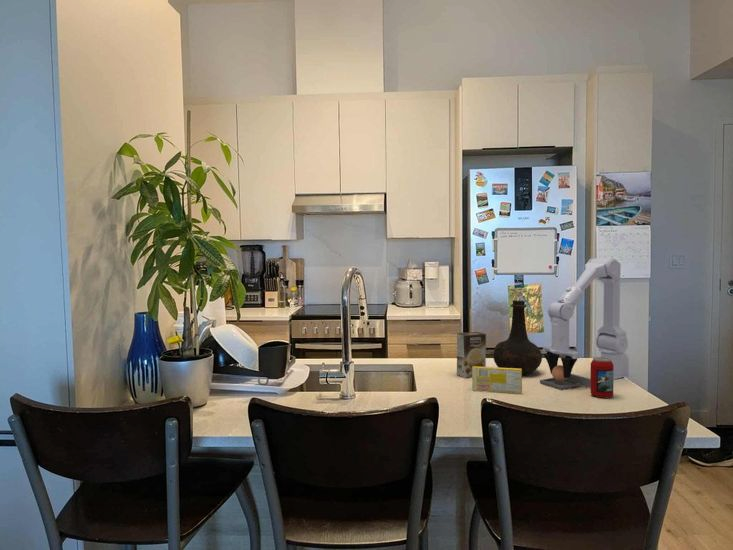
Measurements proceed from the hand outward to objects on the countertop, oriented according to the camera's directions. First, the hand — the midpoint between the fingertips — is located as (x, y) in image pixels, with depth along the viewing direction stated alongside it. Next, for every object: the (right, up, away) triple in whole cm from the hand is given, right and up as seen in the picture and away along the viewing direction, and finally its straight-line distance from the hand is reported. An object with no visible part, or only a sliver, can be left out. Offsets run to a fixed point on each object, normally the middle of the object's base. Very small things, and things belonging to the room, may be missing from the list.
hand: (560, 375), depth 181 cm
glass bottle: (-9, -3, +19) cm, 21 cm away
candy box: (-24, -4, -7) cm, 25 cm away
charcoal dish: (0, -3, 0) cm, 3 cm away
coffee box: (-28, -3, +16) cm, 32 cm away
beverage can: (+8, -4, -14) cm, 16 cm away
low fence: (+5, -3, +3) cm, 7 cm away
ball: (0, +1, 0) cm, 1 cm away
